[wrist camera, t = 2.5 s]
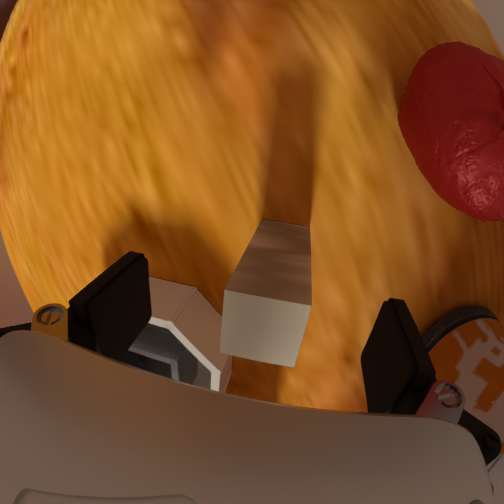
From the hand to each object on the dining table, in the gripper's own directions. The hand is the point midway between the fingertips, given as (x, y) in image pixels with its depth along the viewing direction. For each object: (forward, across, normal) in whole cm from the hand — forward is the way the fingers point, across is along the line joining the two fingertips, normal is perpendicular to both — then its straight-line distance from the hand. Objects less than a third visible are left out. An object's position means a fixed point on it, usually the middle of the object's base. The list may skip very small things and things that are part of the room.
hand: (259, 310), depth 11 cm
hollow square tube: (+8, +8, +11) cm, 15 cm away
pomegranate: (+9, -10, -9) cm, 16 cm away
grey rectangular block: (+8, 0, +1) cm, 8 cm away
